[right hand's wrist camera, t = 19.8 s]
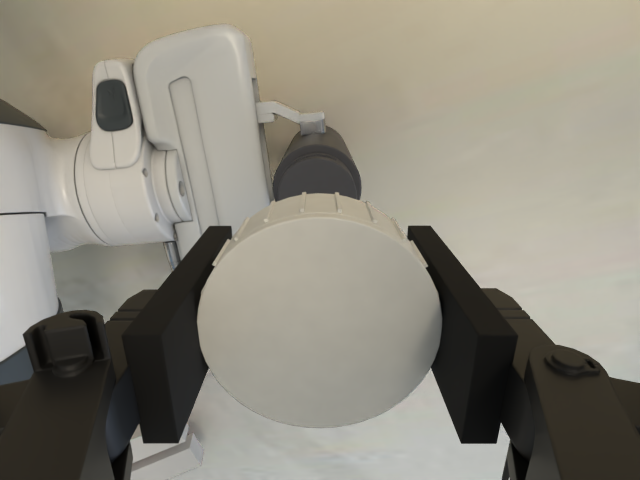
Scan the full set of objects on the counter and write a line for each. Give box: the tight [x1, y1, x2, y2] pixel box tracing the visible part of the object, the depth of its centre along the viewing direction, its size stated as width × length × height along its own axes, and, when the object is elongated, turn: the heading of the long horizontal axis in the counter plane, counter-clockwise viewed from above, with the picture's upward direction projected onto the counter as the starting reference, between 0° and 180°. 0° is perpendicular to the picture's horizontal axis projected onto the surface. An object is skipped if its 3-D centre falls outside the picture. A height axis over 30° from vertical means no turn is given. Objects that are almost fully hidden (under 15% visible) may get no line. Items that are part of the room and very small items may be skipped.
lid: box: [197, 192, 442, 428], centre depth 11 cm, size 6×6×2 cm
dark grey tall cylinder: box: [273, 126, 361, 202], centre depth 29 cm, size 5×5×15 cm
